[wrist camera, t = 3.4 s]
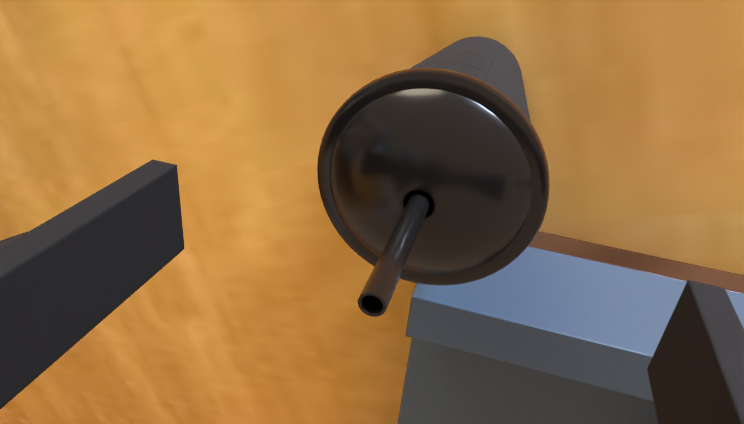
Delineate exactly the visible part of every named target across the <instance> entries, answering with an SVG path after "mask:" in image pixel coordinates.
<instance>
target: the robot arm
mask: <svg viewBox="0 0 744 424" xmlns="http://www.w3.org/2000/svg"><path fill="white" fill-rule="evenodd" d="M183 249H184V239H183V228H182V217H181V206H180V195H179V184H178V174H177V165H174V164H170V163H165V162H161V161H156V160H151V161H149V162H148V163H146V164H144V165H143V166H141V167H139V168H137V169H136V170H134V171H132V172H131V173H129V174H127V175H125V176H124V177H122V178H120V179H119V180H117V181H115V182H113V183H112V184H110V185H108V186H107V187H105V188H103V189H101V190H100V191H98V192H96V193H94V194H93V195H91V196H89V197H88V198H86V199H84V200H82V201H81V202H79V203H77V204H76V205H74V206H72V207H70V208H69V209H67V210H65V211H64V212H62V213H60V214H58V215H57V216H55V217H53V218H52V219H50V220H48V221H46V222H45V223H43V224H41V225H40V226H38V227H36V228H34V229H33V230H31V231H29V232H25V233H22V234H19V235H16V236H13V237H10V238H7V239H4V240H2V241H0V409H1V408H2V407H4V406H5V405H6V404H7V403H8V402H9V401H10V400H12V399H13V398H14V397H15V396H16V395H17V394H18V393H20V392H21V391H22V390H23V389H24V388H25V387H26V386H28V385H29V384H30V383H31V382H32V381H33V380H34V379H36V378H37V377H38V376H39V375H40V374H41V373H43V372H44V371H45V370H46V369H47V368H48V367H49V366H51V365H52V364H53V363H54V362H55V361H56V360H57V359H59V358H60V357H61V356H62V355H63V354H64V353H65V352H67V351H68V350H69V349H70V348H71V347H72V346H73V345H75V344H76V343H77V342H78V341H79V340H80V339H81V338H83V337H84V336H85V335H86V334H87V333H88V332H90V331H91V330H92V329H93V328H94V327H95V326H96V325H98V324H99V323H100V322H101V321H102V320H103V319H104V318H106V317H107V316H108V315H109V314H110V313H111V312H112V311H114V310H115V309H116V308H117V307H118V306H119V305H120V304H122V303H123V302H124V301H125V300H126V299H127V298H128V297H130V296H131V295H132V294H133V293H134V292H135V291H136V290H138V289H139V288H140V287H141V286H142V285H143V284H145V283H146V282H147V281H148V280H149V279H150V278H151V277H153V276H154V275H155V274H156V273H157V272H158V271H159V270H161V269H162V268H163V267H164V266H165V265H166V264H167V263H169V262H170V261H171V260H172V259H173V258H174V257H175V256H177V255H178V254H179V253H180V252H181V251H182V250H183ZM647 371H648V376H649V381H650V386H651V391H652V395H653V400H654V405H655V410H656V415H657V420H658V424H744V328H743V326H742V324H741V322H740V320H739V318H738V315H737V313H736V311H735V309H734V307H733V305H732V303H731V300H730V298H729V296H728V294H727V292H726V290H725V288H722V287H718V286H713V285H709V284H704V283H700V282H695V281H691V280H688V281H687V283H686V285H685V287H684V289H683V292H682V294H681V296H680V298H679V300H678V302H677V305H676V307H675V309H674V311H673V313H672V315H671V318H670V320H669V322H668V324H667V326H666V329H665V331H664V333H663V335H662V337H661V339H660V342H659V344H658V346H657V348H656V350H655V352H654V355H653V357H652V359H651V361H650V363H649V366H648V368H647Z"/></svg>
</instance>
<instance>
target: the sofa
mask: <svg viewBox="0 0 744 424" xmlns="http://www.w3.org/2000/svg"><path fill="white" fill-rule="evenodd" d="M688 280H691V281H695V282H700V283H704V284H709V285H713V286H718V287H722V288H725V290H726V292H727V294H728V296H729V298H730V300H731V303H732V305H733V307H734V309H735V311H736V313H737V315H738V318H739V320H740V322H741V324H742V326H743V328H744V276H743V275H738V274H733V273H729V272H724V271H719V270H715V269H710V268H705V267H701V266H696V265H691V264H687V263H682V262H677V261H673V260H668V259H664V258H659V257H654V256H650V255H645V254H640V253H636V252H631V251H626V250H622V249H617V248H612V247H608V246H603V245H598V244H594V243H589V242H585V241H580V240H575V239H571V238H566V237H561V236H557V235H552V234H547V233H543V232H537V234H536V235H535V237H534V239H533V240H532V241H531V243H530V244H529V245H528V247H527V248H526V249H525V250H524V251H523V252H522V253H521V254H520V255H519V256H518V257H517V258H516V259H515V260H514V261H512V262H511V263H510V264H508V265H507V266H506V267H504V268H503V269H501V270H499V271H497V272H496V273H494V274H492V275H489V276H487V277H485V278H482V279H479V280H476V281H473V282H468V283H464V284H457V285H426V284H420V283H417V284H416V286H415V289H414V292H413V295H412V298H411V305H410V311H409V317H408V324H407V330H406V336H408V337H412V340H411V346H410V352H409V358H408V364H407V370H406V376H405V382H404V388H403V394H402V400H401V406H400V412H399V418H398V424H658V420H657V415H656V410H655V405H654V400H653V395H652V391H651V386H650V381H649V376H648V371H647V368H648V366H649V363H650V361H651V359H652V357H653V355H654V352H655V350H656V348H657V346H658V344H659V342H660V339H661V337H662V335H663V333H664V331H665V329H666V326H667V324H668V322H669V320H670V318H671V315H672V313H673V311H674V309H675V307H676V305H677V302H678V300H679V298H680V296H681V294H682V292H683V289H684V287H685V285H686V283H687V281H688Z"/></svg>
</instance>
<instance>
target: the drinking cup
mask: <svg viewBox="0 0 744 424" xmlns="http://www.w3.org/2000/svg"><path fill="white" fill-rule="evenodd" d="M317 169H318V183H319V190H320V194H321V198H322V201H323V204H324V207H325V210H326V212H327V214H328V216H329V218H330V220H331V222H332V224H333V226H334V227H335V229H336V230H337V232H338V233H339V234H340V236H341V237H342V238H343V239H344V241H345V242H346V243H347V244H348V245H349V246H350V247H351V248H352V249H353V250H354V251H355V252H356V253H357V254H358V255H359V256H361V257H362V258H363V259H365V260H366V261H367V262H369V263H370V264H372V265H373V266H375V267H374V269H373V271H372V273H371V275H370V277H369V279H368V281H367V283H366V285H365V287H364V289H363V290H362V292H361V294H360V296H359V299H358V306H359V308H360V309H361V311H362V312H364V313H365V314H367V315H369V316H373V317H377V316H380V315H382V314H383V313H384V312H385V311H386V308H387V306H388V304H389V301H390V299H391V297H392V294H393V292H394V290H395V287H396V285H397V282H398V280H399V278H401V279H403V280H407V281H411V282H415V283H420V284H426V285H457V284H464V283H468V282H473V281H476V280H479V279H482V278H485V277H487V276H489V275H492V274H494V273H496V272H497V271H499V270H501V269H503V268H504V267H506V266H507V265H508V264H510V263H511V262H512V261H514V260H515V259H516V258H517V257H518V256H519V255H520V254H521V253H522V252H523V251H524V250H525V249H526V248H527V247H528V245H529V244H530V243H531V241H532V240H533V239H534V237H535V235H536V234H537V232H538V230H539V228H540V226H541V224H542V221H543V219H544V215H545V213H546V209H547V204H548V198H549V171H548V163H547V159H546V155H545V152H544V149H543V146H542V143H541V141H540V138H539V137H538V135H537V133H536V131H535V129H534V127H533V126H532V124H531V121H530V116H529V111H528V106H527V101H526V96H525V91H524V85H523V80H522V75H521V70H520V67H519V64H518V62H517V60H516V58H515V57H514V55H513V54H512V53H511V52H510V50H508V49H507V48H506V47H505V46H504V45H502V44H501V43H499V42H497V41H495V40H492V39H489V38H485V37H469V38H465V39H462V40H459V41H457V42H455V43H453V44H451V45H450V46H448V47H446V48H444V49H443V50H441V51H439V52H438V53H436V54H434V55H432V56H431V57H429V58H427V59H426V60H424V61H422V62H420V63H419V64H417V65H415V66H413V67H412V68H410V69H406V70H402V71H397V72H394V73H391V74H387V75H385V76H382V77H380V78H378V79H375V80H373V81H372V82H370V83H368V84H367V85H365V86H363V87H362V88H361V89H359V90H358V91H357V92H355V93H354V94H353V95H352V96H351V97H350V98H348V99H347V100H346V101H345V102H344V103H343V105H342V106H341V107H340V108H339V109H338V110H337V112H336V113H335V115H334V116H333V118H332V119H331V121H330V123H329V125H328V126H327V128H326V131H325V133H324V136H323V138H322V142H321V145H320V150H319V155H318V167H317Z"/></svg>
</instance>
